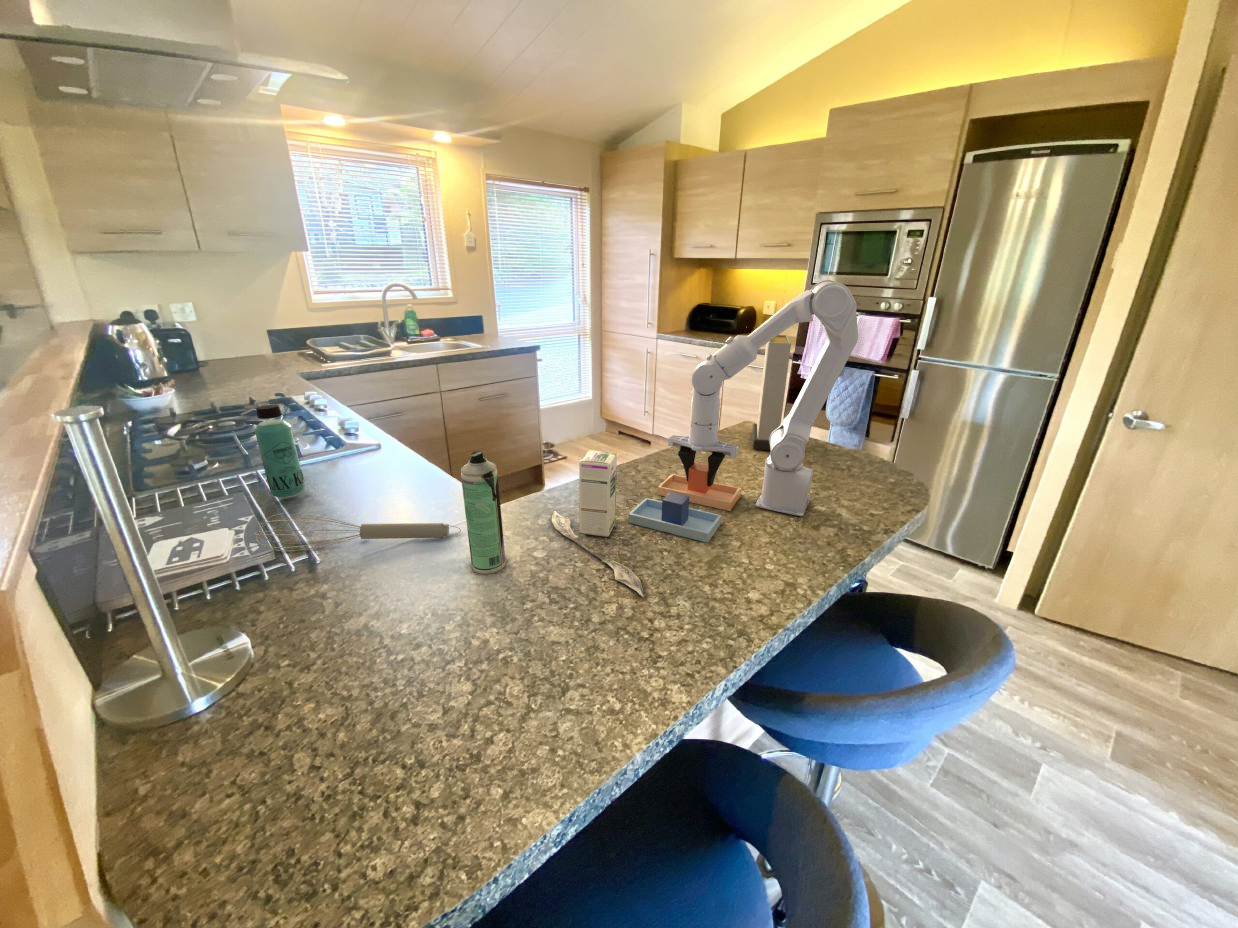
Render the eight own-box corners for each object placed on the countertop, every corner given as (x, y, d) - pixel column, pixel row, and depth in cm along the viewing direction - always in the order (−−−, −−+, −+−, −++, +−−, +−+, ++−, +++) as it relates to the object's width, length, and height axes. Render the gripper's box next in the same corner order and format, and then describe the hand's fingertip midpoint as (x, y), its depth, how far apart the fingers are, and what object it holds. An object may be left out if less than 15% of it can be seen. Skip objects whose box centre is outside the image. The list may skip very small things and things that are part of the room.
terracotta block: (711, 486, 111) (713, 465, 109) (705, 493, 108) (707, 471, 106) (693, 483, 113) (695, 462, 111) (687, 490, 110) (688, 468, 108)
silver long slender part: (556, 511, 103) (535, 518, 101) (556, 508, 103) (535, 515, 100) (664, 588, 80) (640, 600, 77) (664, 585, 80) (640, 597, 77)
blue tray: (721, 523, 99) (721, 515, 99) (707, 542, 93) (708, 533, 92) (645, 505, 106) (646, 497, 106) (628, 522, 100) (628, 513, 99)
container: (777, 443, 149) (790, 336, 142) (782, 455, 131) (796, 333, 125) (751, 441, 150) (762, 335, 144) (752, 452, 133) (765, 332, 126)
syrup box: (609, 537, 94) (612, 463, 89) (577, 533, 95) (579, 459, 90) (615, 523, 99) (618, 452, 94) (585, 519, 100) (587, 449, 95)
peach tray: (740, 495, 111) (741, 487, 110) (729, 511, 104) (730, 502, 104) (671, 481, 118) (671, 473, 117) (657, 494, 111) (657, 486, 111)
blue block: (688, 519, 100) (689, 496, 98) (680, 528, 97) (682, 504, 95) (669, 514, 102) (670, 491, 100) (661, 523, 99) (662, 499, 97)
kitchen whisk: (459, 544, 92) (455, 512, 90) (253, 560, 87) (243, 527, 85) (463, 527, 98) (459, 497, 95) (270, 541, 93) (260, 510, 90)
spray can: (511, 559, 88) (502, 449, 80) (494, 576, 83) (482, 461, 75) (483, 553, 89) (472, 444, 82) (465, 570, 84) (450, 456, 77)
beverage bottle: (264, 500, 107) (238, 408, 100) (294, 488, 113) (271, 399, 106) (286, 506, 105) (261, 412, 98) (315, 493, 111) (293, 403, 103)
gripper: (663, 421, 105) (661, 482, 110) (733, 432, 98) (727, 496, 104) (676, 412, 110) (673, 471, 116) (743, 422, 104) (737, 483, 109)
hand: (699, 482), depth 110 cm, fingers closed on terracotta block, 4 cm apart
